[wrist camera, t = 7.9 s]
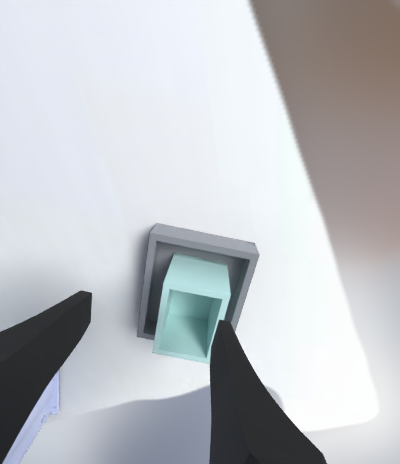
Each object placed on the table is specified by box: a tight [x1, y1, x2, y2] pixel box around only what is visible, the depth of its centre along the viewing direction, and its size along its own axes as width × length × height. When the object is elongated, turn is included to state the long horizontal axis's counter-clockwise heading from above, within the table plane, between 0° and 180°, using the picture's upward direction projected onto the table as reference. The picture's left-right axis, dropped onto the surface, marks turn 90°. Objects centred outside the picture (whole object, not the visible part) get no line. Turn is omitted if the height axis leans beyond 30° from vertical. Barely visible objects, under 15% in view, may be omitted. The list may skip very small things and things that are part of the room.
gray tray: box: [137, 223, 259, 340], centre depth 22 cm, size 9×11×2 cm
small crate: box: [152, 253, 231, 364], centre depth 20 cm, size 5×7×5 cm
